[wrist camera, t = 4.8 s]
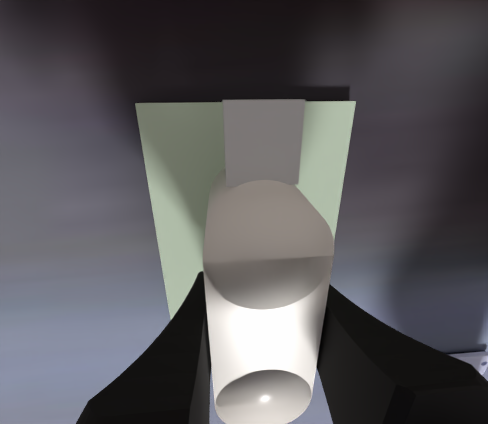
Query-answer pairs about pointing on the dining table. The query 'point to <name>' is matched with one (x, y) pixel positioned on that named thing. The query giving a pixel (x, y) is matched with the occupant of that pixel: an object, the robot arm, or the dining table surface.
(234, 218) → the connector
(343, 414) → the robot arm
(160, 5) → the dining table surface
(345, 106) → the mat
